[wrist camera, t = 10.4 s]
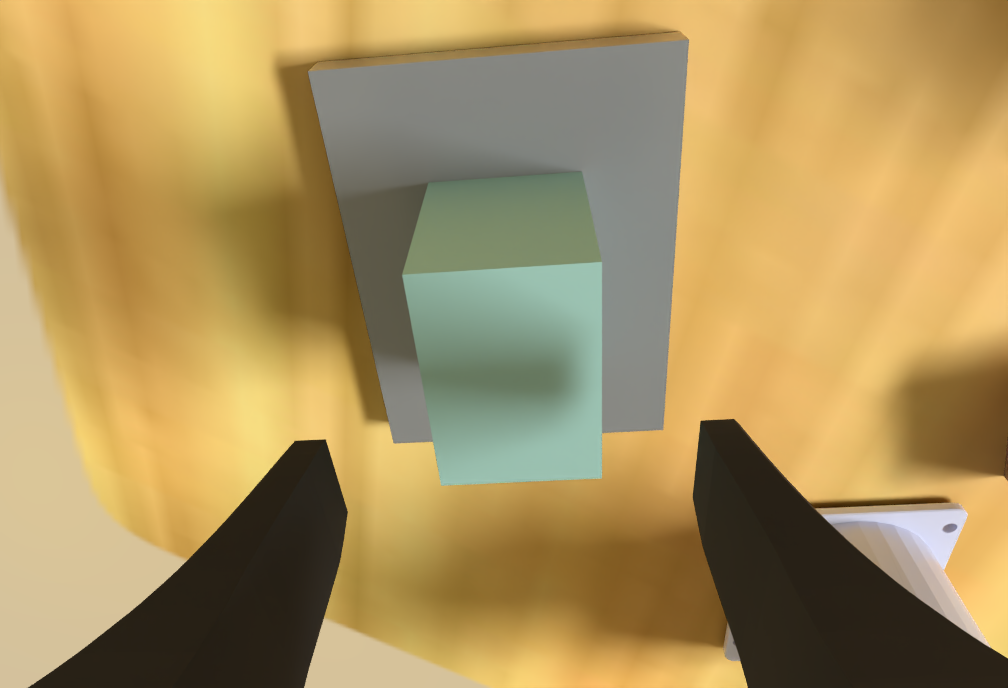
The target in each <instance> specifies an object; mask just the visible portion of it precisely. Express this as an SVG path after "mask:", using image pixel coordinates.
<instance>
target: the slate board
mask: <svg viewBox="0 0 1008 688" xmlns="http://www.w3.org/2000/svg"><path fill="white" fill-rule="evenodd" d="M688 45H689V39H688V38H687V37H686V36H685V35H684V34H682V33H681V32H668V33H656V34H644V35H632V36H620V37H609V38H597V39H585V40H573V41H561V42H549V43H537V44H525V45H513V46H501V47H489V48H477V49H466V50H454V51H442V52H430V53H418V54H406V55H394V56H382V57H370V58H358V59H346V60H334V61H323V62H317V63H316V64H315V65H314V66H313V67H312V68H311V69H310V70H309V71H308V75H309V79H310V84H311V88H312V92H313V96H314V101H315V105H316V109H317V114H318V118H319V122H320V127H321V131H322V135H323V140H324V144H325V148H326V153H327V157H328V161H329V166H330V170H331V174H332V179H333V183H334V187H335V192H336V196H337V200H338V205H339V209H340V213H341V218H342V222H343V226H344V230H345V235H346V239H347V243H348V248H349V252H350V256H351V261H352V265H353V269H354V274H355V278H356V282H357V287H358V291H359V295H360V300H361V304H362V308H363V313H364V317H365V321H366V326H367V330H368V334H369V339H370V343H371V347H372V351H373V356H374V360H375V364H376V369H377V373H378V377H379V382H380V386H381V390H382V395H383V399H384V403H385V408H386V412H387V416H388V421H389V425H390V429H391V434H392V438H393V442H394V443H413V442H433V438H432V433H431V427H430V422H429V417H428V411H427V406H426V401H425V395H424V390H423V384H422V379H421V374H420V368H419V363H418V357H417V352H416V347H415V341H414V336H413V331H412V325H411V320H410V314H409V309H408V304H407V298H406V293H405V288H404V282H403V277H402V273H403V270H404V266H405V263H406V259H407V256H408V252H409V249H410V245H411V242H412V238H413V235H414V231H415V228H416V224H417V221H418V217H419V214H420V210H421V207H422V203H423V200H424V196H425V193H426V189H427V186H428V183H429V182H443V181H457V180H471V179H485V178H499V177H513V176H527V175H541V174H555V173H569V172H582V174H583V178H584V183H585V187H586V192H587V196H588V201H589V205H590V210H591V214H592V219H593V223H594V228H595V232H596V237H597V242H598V246H599V251H600V255H601V260H602V433H611V432H630V431H650V430H663V424H664V409H665V394H666V379H667V364H668V348H669V333H670V318H671V303H672V288H673V273H674V258H675V242H676V227H677V212H678V197H679V182H680V167H681V151H682V136H683V121H684V106H685V91H686V76H687V60H688Z"/></svg>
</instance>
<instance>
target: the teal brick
mask: <svg viewBox="0 0 1008 688" xmlns="http://www.w3.org/2000/svg"><path fill="white" fill-rule="evenodd" d="M402 277H403V282H404V288H405V293H406V298H407V304H408V309H409V314H410V320H411V325H412V331H413V336H414V341H415V347H416V352H417V357H418V363H419V368H420V374H421V379H422V384H423V390H424V395H425V401H426V406H427V411H428V417H429V422H430V427H431V433H432V438H433V444H434V449H435V454H436V460H437V465H438V470H439V476H440V481H441V486H444V485H465V484H487V483H509V482H531V481H553V480H574V479H596V478H602V260H601V255H600V251H599V246H598V242H597V237H596V232H595V228H594V223H593V219H592V214H591V210H590V205H589V201H588V196H587V192H586V187H585V183H584V178H583V174H582V172H569V173H555V174H541V175H527V176H513V177H499V178H485V179H471V180H457V181H443V182H429V183H428V186H427V189H426V193H425V196H424V200H423V203H422V207H421V210H420V214H419V217H418V221H417V224H416V228H415V231H414V235H413V238H412V242H411V245H410V249H409V252H408V256H407V259H406V263H405V266H404V270H403V273H402Z"/></svg>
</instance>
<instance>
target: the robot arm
mask: <svg viewBox="0 0 1008 688" xmlns="http://www.w3.org/2000/svg"><path fill="white" fill-rule="evenodd" d="M693 501H694V506H695V511H696V516H697V521H698V526H699V531H700V536H701V540H702V545H703V549H704V552H705V555H706V558H707V561H708V564H709V567H710V570H711V573H712V576H713V580H714V583H715V586H716V589H717V592H718V595H719V598H720V601H721V604H722V606H723V609H724V612H725V615H726V618H727V621H728V623H727V629H726V635H725V641H724V647H723V650H724V654H725V657H726V658H727V659H728V660H731V661H741V664H742V668H743V671H744V675H745V678H746V682H747V686H748V688H1008V658H1006V657H1004V656H1003V655H1001V654H1000V653H998V652H996V651H995V650H993V649H992V648H991V647H990V645H989V644H988V642H987V640H986V639H985V637H984V636H983V634H982V632H981V631H980V629H979V627H978V626H977V624H976V623H975V621H974V619H973V618H972V616H971V614H970V613H969V611H968V609H967V608H966V606H965V605H964V603H963V601H962V600H961V598H960V596H959V595H958V593H957V592H956V590H955V588H954V587H953V585H952V583H951V582H950V580H949V579H948V577H947V575H946V574H945V572H944V569H945V566H946V564H947V562H948V560H949V557H950V555H951V553H952V550H953V548H954V546H955V544H956V541H957V539H958V537H959V535H960V532H961V530H962V528H963V525H964V523H965V521H966V519H967V512H966V511H965V509H964V508H963V507H962V505H960V504H958V503H930V504H907V505H884V506H861V507H838V508H814V507H813V506H812V505H811V504H810V503H809V502H808V501H807V500H806V499H805V498H804V497H803V496H802V495H801V494H800V493H799V492H798V491H797V489H796V488H795V487H794V486H793V485H792V484H791V483H790V482H789V481H788V480H787V479H786V478H785V477H784V476H783V474H782V473H781V472H780V471H779V470H778V469H777V468H776V467H775V466H774V464H773V463H772V462H771V461H770V460H769V459H768V458H767V456H766V455H765V454H764V453H763V452H762V451H761V450H760V448H759V447H758V446H757V445H756V444H755V442H754V441H753V440H752V439H751V438H750V436H749V435H748V434H747V433H746V432H745V430H744V429H743V428H742V427H741V426H740V424H739V423H738V422H736V421H735V420H734V419H726V420H706V421H701V423H700V433H699V442H698V452H697V461H696V471H695V481H694V490H693ZM347 513H348V511H347V508H346V505H345V502H344V498H343V495H342V492H341V488H340V485H339V482H338V479H337V475H336V472H335V469H334V465H333V462H332V459H331V456H330V452H329V449H328V446H327V442H326V439H325V440H305V441H295V442H294V443H293V444H292V445H291V446H290V447H289V448H288V450H287V451H286V452H285V453H284V454H283V455H282V456H281V458H280V459H279V460H278V461H277V462H276V463H275V465H274V466H273V467H272V468H271V469H270V470H269V472H268V473H267V474H266V475H265V476H264V478H263V479H262V480H261V481H260V482H259V483H258V485H257V486H256V487H255V488H254V489H253V490H252V492H251V493H250V494H249V495H248V496H247V497H246V498H245V500H244V501H243V502H242V503H241V504H240V505H239V506H238V507H237V509H236V510H235V511H234V512H233V513H232V514H231V515H230V516H229V517H228V519H227V520H226V521H225V522H224V523H223V524H222V525H221V526H220V527H219V528H218V530H217V531H216V532H215V533H214V534H213V535H212V536H211V537H210V538H209V539H208V540H207V541H206V542H205V543H204V544H203V545H202V546H201V547H200V548H199V549H198V550H197V551H196V552H195V553H194V554H193V555H192V556H191V557H190V558H189V559H188V560H187V562H185V563H184V564H183V565H182V566H181V567H180V568H179V569H178V570H177V571H176V572H175V573H174V574H173V575H172V576H171V577H170V578H169V579H168V580H166V581H165V582H164V583H163V584H162V585H161V586H160V587H159V588H158V589H156V590H155V591H154V592H153V593H152V594H151V595H150V596H148V597H147V598H146V599H145V600H144V601H143V602H142V603H141V604H139V605H138V606H137V607H136V608H135V609H133V610H132V611H131V612H130V613H129V614H127V615H126V616H125V617H123V618H122V619H121V620H120V621H118V622H117V623H116V624H114V625H113V626H112V627H111V628H110V629H108V630H107V631H106V632H104V633H103V634H102V635H100V636H99V637H98V638H97V639H95V640H94V641H93V642H92V643H90V644H89V645H88V646H87V647H85V648H84V649H83V650H81V651H80V652H79V653H77V654H76V655H74V656H73V657H72V658H70V659H69V660H67V661H66V662H65V663H63V664H62V665H60V666H59V667H58V668H56V669H55V670H54V671H52V672H51V673H49V674H48V675H46V676H45V677H43V678H42V679H40V680H39V681H37V682H36V683H34V684H33V685H31V686H30V687H28V688H304V686H305V682H306V678H307V673H308V670H309V666H310V663H311V659H312V656H313V653H314V649H315V646H316V642H317V639H318V636H319V632H320V629H321V625H322V622H323V619H324V615H325V612H326V608H327V605H328V602H329V598H330V595H331V591H332V588H333V584H334V581H335V577H336V574H337V570H338V567H339V563H340V558H341V552H342V547H343V541H344V534H345V527H346V520H347Z"/></svg>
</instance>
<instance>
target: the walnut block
mask: <svg viewBox="0 0 1008 688" xmlns="http://www.w3.org/2000/svg"><path fill="white" fill-rule="evenodd" d="M1004 477H1005V478H1006V479H1007V480H1008V439H1007V449H1006V459H1005V470H1004Z"/></svg>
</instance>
